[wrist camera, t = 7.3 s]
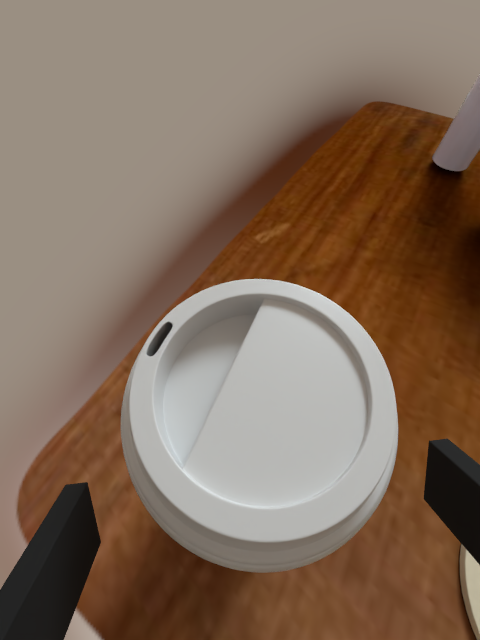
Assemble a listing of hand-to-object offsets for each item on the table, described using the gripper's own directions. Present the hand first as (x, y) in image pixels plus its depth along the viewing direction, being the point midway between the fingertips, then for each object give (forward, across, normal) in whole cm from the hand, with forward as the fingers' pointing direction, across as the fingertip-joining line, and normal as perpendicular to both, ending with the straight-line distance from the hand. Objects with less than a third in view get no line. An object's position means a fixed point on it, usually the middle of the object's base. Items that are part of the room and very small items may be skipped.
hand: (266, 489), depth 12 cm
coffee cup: (+9, 0, -6) cm, 11 cm away
